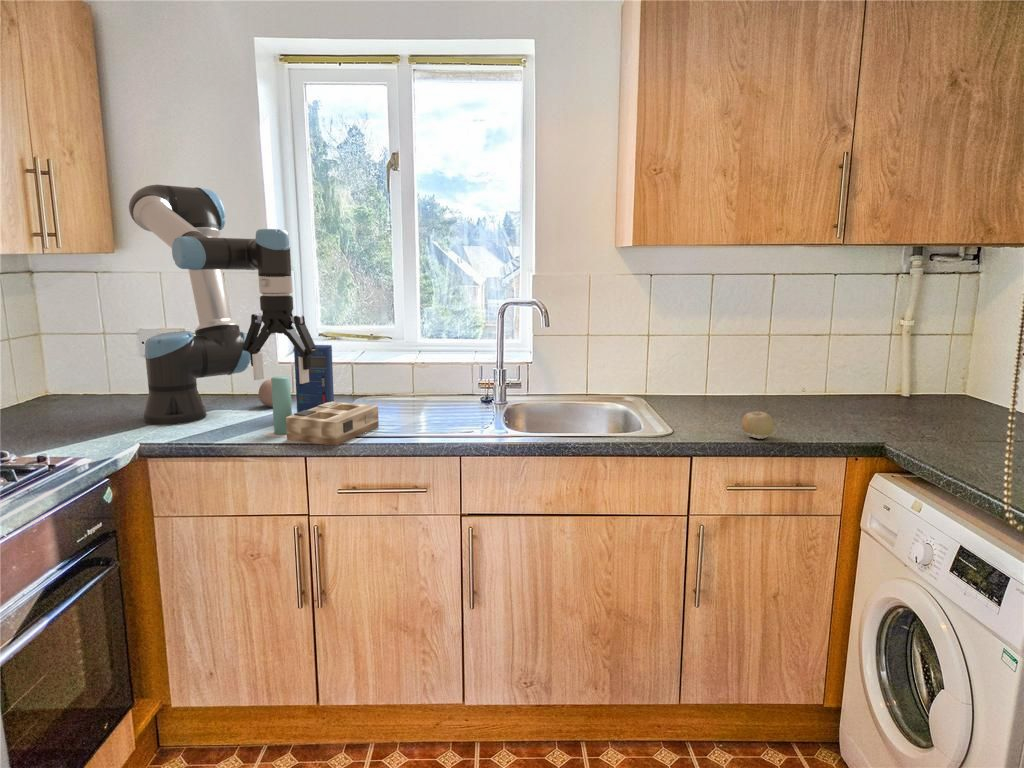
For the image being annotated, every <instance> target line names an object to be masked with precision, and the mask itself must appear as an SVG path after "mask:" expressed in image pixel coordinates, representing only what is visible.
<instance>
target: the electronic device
mask: <svg viewBox="0 0 1024 768" xmlns="http://www.w3.org/2000/svg"><path fill="white" fill-rule="evenodd" d="M315 346H316V348H317V353H315V354H312V355H311V356H310V360H311V368H310V369H309V382H307V383H303V384H300V379H299V361H298V357H300V355H301V354H300V353H299V352H298V350H297V349H296V348H295V346H294V345H293V353H294V354H293V356H294V357H293V358H294V376H295V393H296V394H295V396H296V399H295V400H296V413H298V412H301V411H304V410H309V409H312V408H315V407H317V406H319V405H322V404H325V403H329V402H335V397H334V371H333V369H334V368H333V346H332V344H315Z"/></svg>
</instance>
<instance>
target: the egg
mask: <svg viewBox="0 0 1024 768" xmlns="http://www.w3.org/2000/svg"><path fill="white" fill-rule="evenodd" d="M257 395H258V400H259V401H260V402H261V404H263V405H264V406H266V407H269V408H273V402H272V385H271V378H269V379H266V380H265V381H263V382H262V383H261V384H260V386H259V389H258V394H257Z"/></svg>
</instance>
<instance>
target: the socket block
mask: <svg viewBox="0 0 1024 768" xmlns="http://www.w3.org/2000/svg"><path fill="white" fill-rule="evenodd" d="M286 427H287V438H286V440H287V441H293V442H302V443H309V444H311V443H312V444H317V445H319V444H320V445H326V446H334V447H335V446H336V447H338V446H340V445H342V444H344V443H346V442H348V441H351V440H354V439H356V438H357V436H358V435H360V434H362V433H364V434H366V433H368V432H370V431H373V430H375V429H377V428H379V406H378V405H373V404H361V403H352V402H351V403H350V402H341V401H340V402H339V401H334V402H329V403H325V404H322V405H319V406H317V407H315V408H312V409H309V410H304V411H301V412H298V413H297V412H296V413H293V414H292V415H291V416H288V417H286ZM365 432H366V433H365ZM362 435H363V434H362ZM360 436H361V435H360ZM358 437H359V436H358Z"/></svg>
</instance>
